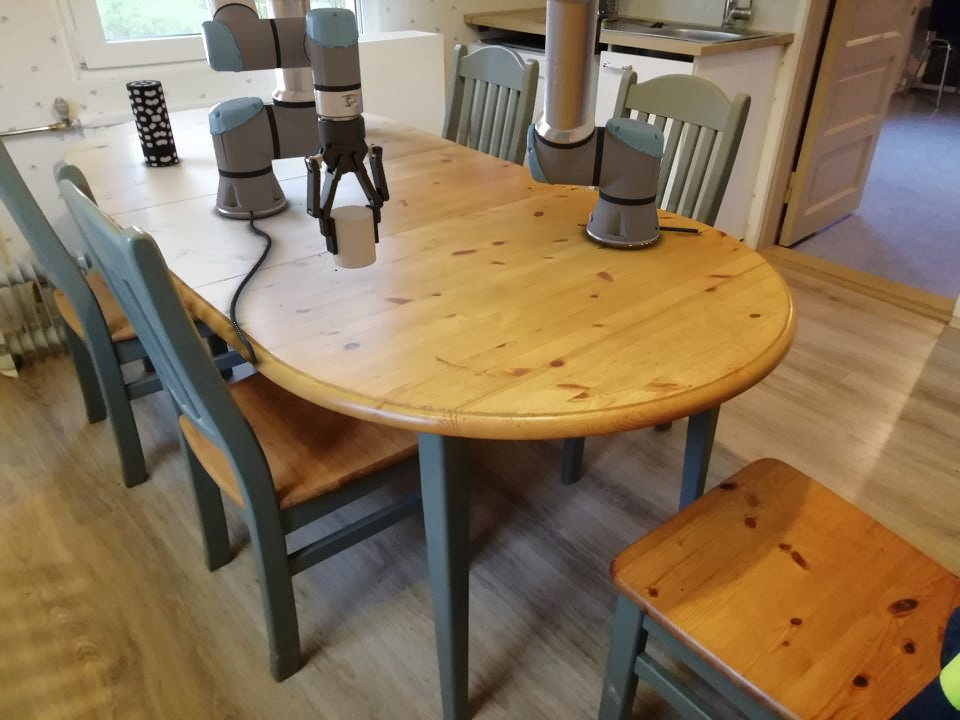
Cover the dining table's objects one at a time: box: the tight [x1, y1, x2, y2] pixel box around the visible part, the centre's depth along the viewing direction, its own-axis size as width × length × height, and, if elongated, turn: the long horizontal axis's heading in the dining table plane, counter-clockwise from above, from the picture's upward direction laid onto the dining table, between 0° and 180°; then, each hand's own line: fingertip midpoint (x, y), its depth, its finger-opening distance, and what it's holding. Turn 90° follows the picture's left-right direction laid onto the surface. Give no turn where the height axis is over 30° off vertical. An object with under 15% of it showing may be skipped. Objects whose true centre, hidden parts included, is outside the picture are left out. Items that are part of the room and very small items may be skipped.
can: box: [330, 204, 377, 270], centre depth 123 cm, size 8×8×9 cm
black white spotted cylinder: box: [125, 79, 179, 167], centre depth 181 cm, size 8×8×20 cm
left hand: (353, 246), depth 124 cm, fingers closed on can, 8 cm apart
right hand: (576, 49), depth 158 cm, fingers open, 13 cm apart
